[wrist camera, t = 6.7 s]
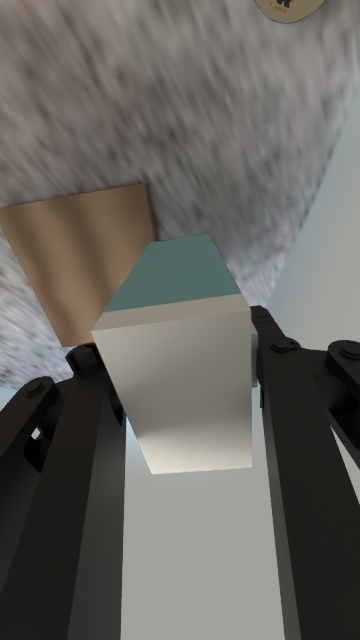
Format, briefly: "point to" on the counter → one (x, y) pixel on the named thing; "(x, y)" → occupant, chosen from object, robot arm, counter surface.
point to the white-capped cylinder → (288, 9)
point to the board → (80, 252)
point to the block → (182, 357)
